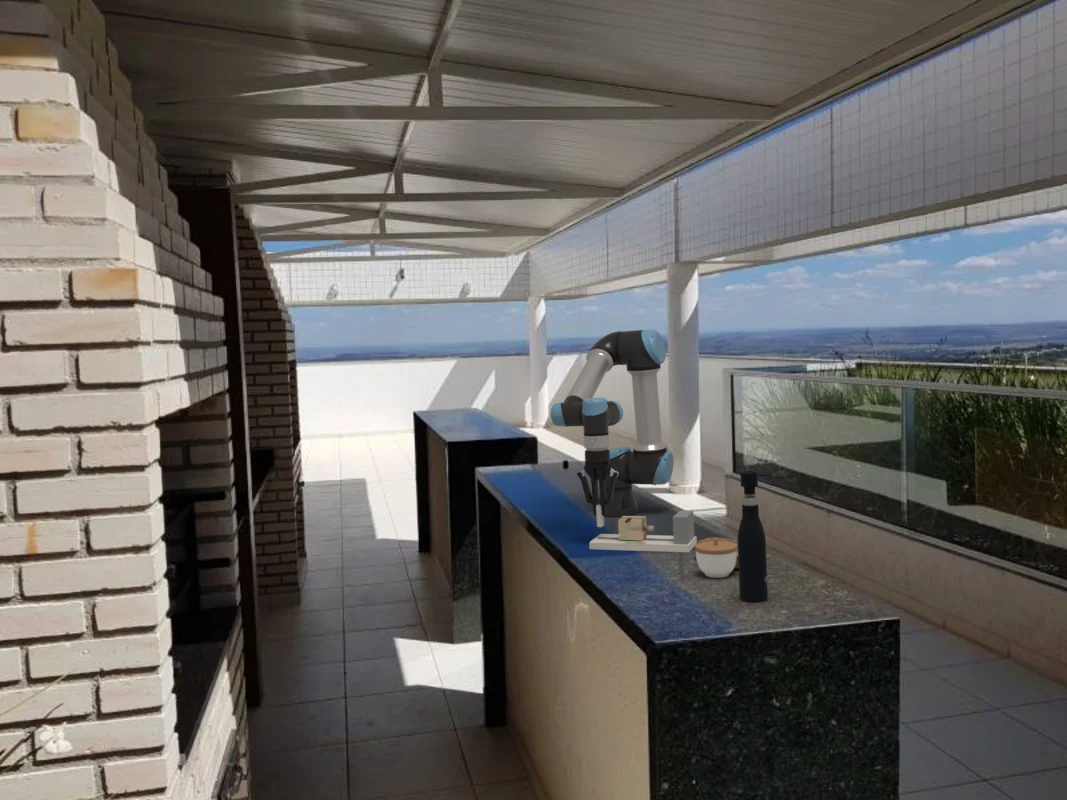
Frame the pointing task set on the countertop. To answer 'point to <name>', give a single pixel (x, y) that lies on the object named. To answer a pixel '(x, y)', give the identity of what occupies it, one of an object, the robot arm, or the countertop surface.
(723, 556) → the lidded jar
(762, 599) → the wine bottle
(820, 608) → the countertop surface
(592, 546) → the bench
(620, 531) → the gauge carriage
